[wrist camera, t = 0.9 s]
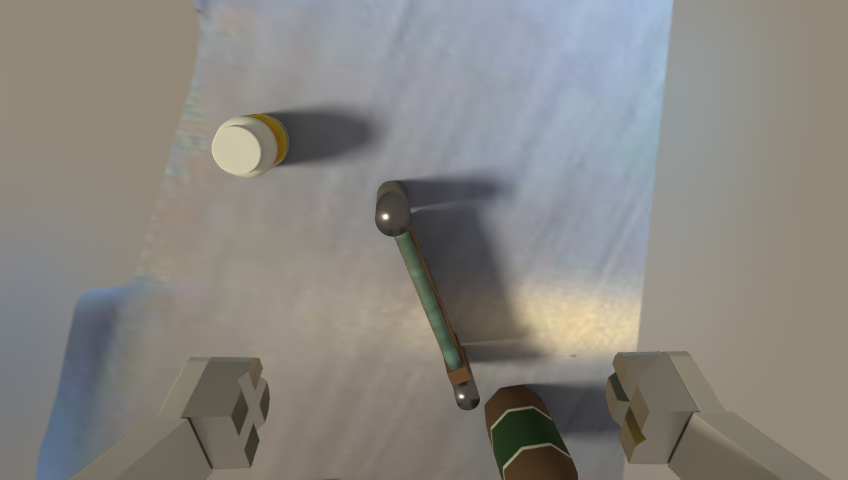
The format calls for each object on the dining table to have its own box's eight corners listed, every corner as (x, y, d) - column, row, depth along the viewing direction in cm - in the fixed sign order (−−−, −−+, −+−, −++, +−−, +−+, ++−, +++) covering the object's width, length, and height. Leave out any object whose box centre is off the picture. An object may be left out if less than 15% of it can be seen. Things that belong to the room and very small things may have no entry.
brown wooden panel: (390, 219, 51) (391, 239, 44) (408, 212, 51) (411, 231, 44) (444, 350, 56) (452, 386, 49) (460, 344, 56) (470, 379, 49)
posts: (372, 187, 51) (369, 208, 41) (400, 176, 51) (404, 195, 41) (446, 367, 58) (458, 421, 49) (471, 358, 58) (488, 410, 48)
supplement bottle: (265, 177, 50) (237, 196, 41) (225, 138, 48) (187, 148, 39) (302, 142, 49) (282, 153, 40) (262, 101, 48) (233, 103, 39)
